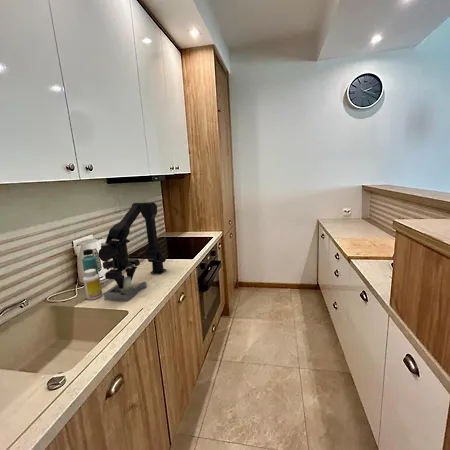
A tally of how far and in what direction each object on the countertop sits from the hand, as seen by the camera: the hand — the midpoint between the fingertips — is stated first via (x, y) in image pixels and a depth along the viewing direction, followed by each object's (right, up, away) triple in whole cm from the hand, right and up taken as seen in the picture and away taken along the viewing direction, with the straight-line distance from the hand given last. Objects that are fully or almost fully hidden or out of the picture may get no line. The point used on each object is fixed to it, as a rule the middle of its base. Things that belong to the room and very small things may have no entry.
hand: (125, 285), depth 122 cm
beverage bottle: (-19, -3, +7) cm, 20 cm away
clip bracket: (0, -4, 0) cm, 4 cm away
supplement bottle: (-14, -5, -2) cm, 15 cm away
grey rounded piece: (0, -4, +1) cm, 4 cm away
